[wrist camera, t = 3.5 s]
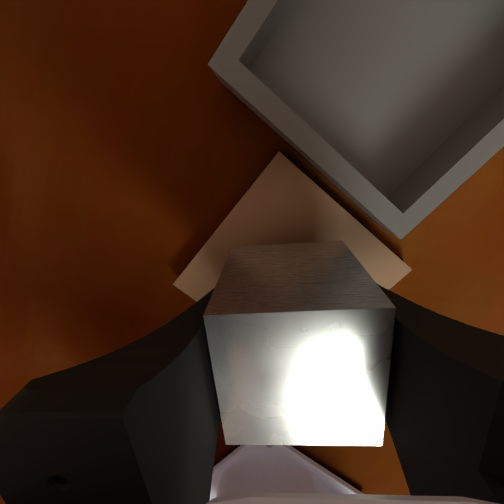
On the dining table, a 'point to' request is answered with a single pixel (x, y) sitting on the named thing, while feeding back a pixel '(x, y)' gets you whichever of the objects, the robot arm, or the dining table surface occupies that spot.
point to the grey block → (300, 346)
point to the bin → (375, 93)
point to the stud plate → (287, 229)
